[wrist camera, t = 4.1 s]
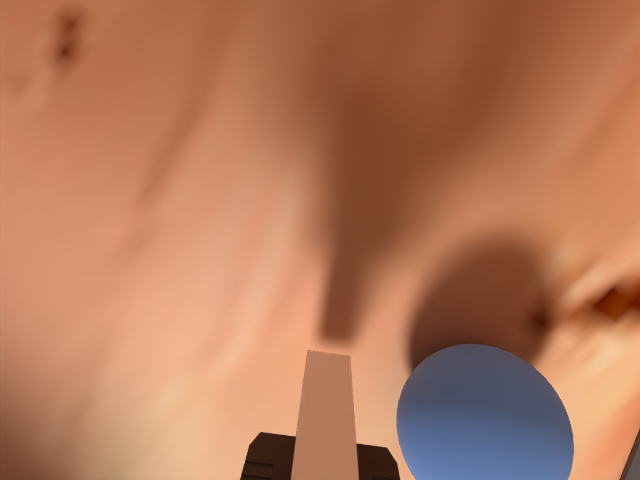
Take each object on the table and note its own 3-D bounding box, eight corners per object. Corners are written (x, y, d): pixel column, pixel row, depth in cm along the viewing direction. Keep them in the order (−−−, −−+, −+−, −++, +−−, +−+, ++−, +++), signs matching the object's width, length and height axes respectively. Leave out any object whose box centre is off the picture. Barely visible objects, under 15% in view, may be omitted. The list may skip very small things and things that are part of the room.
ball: (375, 428, 17) (396, 558, 12) (401, 308, 16) (436, 395, 11) (504, 446, 17) (581, 584, 12) (540, 328, 16) (645, 425, 11)
